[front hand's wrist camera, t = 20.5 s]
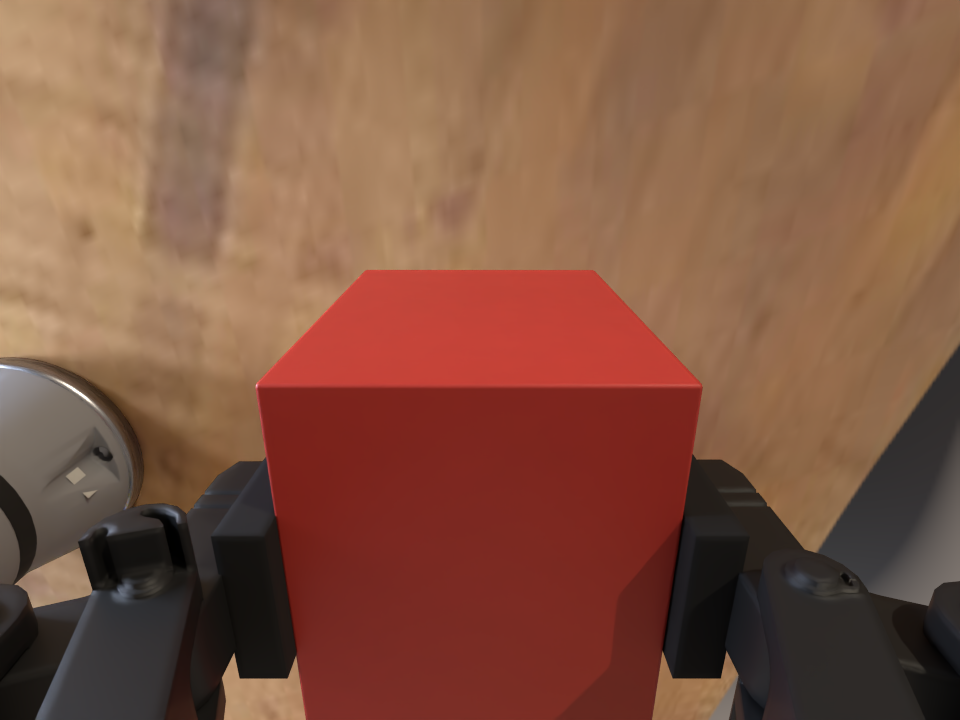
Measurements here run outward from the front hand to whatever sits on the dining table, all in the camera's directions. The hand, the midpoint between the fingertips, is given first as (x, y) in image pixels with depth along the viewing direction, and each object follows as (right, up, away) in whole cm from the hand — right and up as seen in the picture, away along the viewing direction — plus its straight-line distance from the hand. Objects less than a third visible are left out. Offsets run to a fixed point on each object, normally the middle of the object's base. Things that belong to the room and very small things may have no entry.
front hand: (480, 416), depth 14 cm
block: (0, +1, +2) cm, 2 cm away
